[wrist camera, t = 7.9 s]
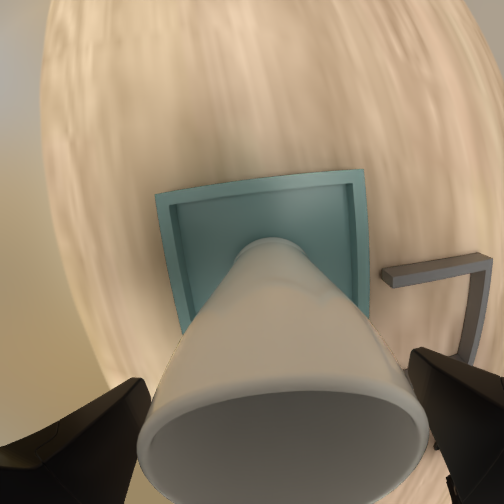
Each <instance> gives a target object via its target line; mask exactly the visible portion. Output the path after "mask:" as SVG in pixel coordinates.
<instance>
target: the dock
mask: <svg viewBox="0 0 504 504" xmlns="http://www.w3.org/2000/svg"><path fill="white" fill-rule="evenodd" d="M492 265H493V258H491V257H488V256H486V255H483V254H481V253H474V254H468V255H463V256H457V257H451V258H445V259H439V260H433V261H427V262H421V263H415V264H409V265H402V266H396V267H389V268H382V280H383V281H385V282H386V283H387V284H388V285H389V286H390V287H391V288H399V287H404V286H410V285H415V284H421V283H426V282H431V281H436V280H441V279H446V278H451V277H456V276H460V275H465V274H469V273H471V279H470V288H469V296H468V303H467V309H466V316H465V321H464V327H463V332H462V337H461V341H460V346H459V350H458V354H455V355H453V356H450V358H453V359H455V360H458V361H461V362H463V363H466V364H469V365H471V366H473V363H474V360H475V356H476V353H477V349H478V345H479V341H480V337H481V333H482V328H483V324H484V319H485V313H486V308H487V302H488V296H489V290H490V282H491V274H492ZM403 371H404V373H405V375H406V377H407V378H408V380H409V382H410V384H411V381H410V378H409V376H408V369H406V370H403ZM411 386H412V384H411ZM412 388H413V386H412Z"/></svg>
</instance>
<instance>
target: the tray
mask: <svg viewBox="0 0 504 504" xmlns="http://www.w3.org/2000/svg"><path fill="white" fill-rule="evenodd" d="M155 201H156V207H157V214H158V220H159V226H160V232H161V237H162V243H163V248H164V253H165V259H166V264H167V269H168V274H169V278H170V283H171V288H172V292H173V297H174V301H175V306H176V310H177V314H178V318H179V322H180V326H181V330H182V334H184V333H185V331H186V330H187V328H188V327H189V325H190V323H191V322H192V320H193V319H194V317H195V316H196V314H197V313H198V312H199V310H200V309H201V307H202V306H203V305H204V303H205V302H206V301H207V299H208V298H209V297H210V295H211V294H212V292H213V291H214V290H215V288H216V287H217V286H218V284H219V283H220V282H221V280H222V279H223V278H224V276H225V275H226V273H227V272H228V271H229V269H230V268H231V266H232V264H233V261H234V259H235V258H236V256H237V255H238V253H239V252H240V251H241V250H242V249H243V248H244V247H245V246H247V245H248V244H250V243H251V242H253V241H255V240H258V239H261V238H266V237H279V238H284V239H287V240H289V241H292V242H293V243H295V244H297V245H298V246H299V247H300V248H302V249H303V250H304V252H305V253H306V254H307V255H308V257H309V259H310V260H311V261H312V262H313V263H314V264H315V265H316V266H317V267H318V268H319V269H320V270H321V271H322V272H323V273H324V274H325V275H326V276H327V277H328V278H329V279H330V280H331V281H332V282H333V283H335V284H336V285H337V286H338V287H339V288H340V289H341V290H342V291H343V292H344V293H345V294H346V295H347V296H348V297H349V298H350V299H351V300H352V301H353V302H354V304H355V305H356V306H357V307H358V308H359V309H360V310H361V311H362V312H363V313H364V315H365V316H366V317H367V318H368V319H369V300H370V261H369V232H368V214H367V200H366V189H365V178H364V169H355V170H339V171H326V172H314V173H303V174H293V175H283V176H274V177H265V178H257V179H249V180H241V181H234V182H227V183H220V184H213V185H206V186H200V187H194V188H188V189H182V190H176V191H171V192H165V193H160V194H155Z"/></svg>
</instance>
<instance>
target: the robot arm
mask: <svg viewBox="0 0 504 504" xmlns="http://www.w3.org/2000/svg"><path fill="white" fill-rule="evenodd" d="M408 376H409V378H410V381H411V384H412V386H413V389H414V392H415V394H416V396H417V398H418V400H419V401H420V403H421V405H422V407H423V408H424V410H425V413H426V415H427V418H428V423H429V427H430V430H431V432H432V434H433V436H434V438H435V440H436V444H435V446H434V450H439V449H440V451H441V453H442V456H443V458H444V460H445V463H446V465H447V467H448V470H449V472H450V474H451V475H448V476H447V477H446V480H447V482H446V483H447V486H448V489H449V492H450V496H451V500H452V504H504V377H500V376H498V375H496V374H493V373H490V372H487V371H485V370H482V369H479V368H477V367H474V366H471V365H469V364H466V363H463V362H461V361H458V360H455V359H453V358H450V357H448V356H445V355H442V354H440V353H437V352H435V351H432V350H429V349H427V348H424V347H419V348H416V349H413V350H412V351H411V353H410V359H409V365H408ZM150 404H151V396H150V393H149V391H148V388H147V386H146V383H145V381H144V379H142V378H135V377H132V378H130V379H128V380H127V381H125V382H123V383H122V384H120V385H118V386H117V387H115V388H113V389H112V390H110V391H109V392H107V393H105V394H104V395H102V396H100V397H98V398H97V399H95V400H93V401H92V402H90V403H88V404H87V405H85V406H83V407H81V408H80V409H78V410H76V411H74V412H73V413H71V414H69V415H67V416H66V417H64V418H62V419H60V420H59V421H57V422H55V423H53V424H52V425H50V426H48V427H46V428H44V429H42V430H40V431H38V432H36V433H34V434H31V435H29V436H27V437H24V438H22V439H20V440H18V441H15V442H12V443H10V444H8V445H5V446H1V447H0V504H124V501H125V498H126V494H127V491H128V487H129V483H130V480H131V477H132V473H133V470H134V467H135V464H136V461H137V458H138V457H137V440H138V436H139V433H140V430H141V428H142V426H143V423H144V420H145V418H146V415H147V412H148V410H149V407H150Z"/></svg>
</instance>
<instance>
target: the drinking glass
mask: <svg viewBox="0 0 504 504" xmlns="http://www.w3.org/2000/svg"><path fill="white" fill-rule="evenodd" d="M428 439H429V423H428V418H427V415H426V413H425V410H424V408H423V407H422V405H421V403H420V401H419V400H418V398H417V396H416V394H415V392H414V390H413V388H412V386H411V384H410V382H409V380H408V378H407V377H406V375H405V373H404V371H403V369H402V368H401V366H400V364H399V363H398V361H397V359H396V358H395V356H394V354H393V353H392V351H391V350H390V348H389V347H388V345H387V344H386V342H385V341H384V340H383V338H382V337H381V335H380V334H379V333H378V331H377V330H376V328H375V327H374V326H373V324H372V323H371V322H370V321H369V319H368V318H367V317H366V316H365V315H364V313H363V312H362V311H361V310H360V309H359V308H358V307H357V306H356V305H355V304H354V302H353V301H352V300H351V299H350V298H349V297H348V296H347V295H346V294H345V293H344V292H343V291H342V290H341V289H340V288H339V287H338V286H337V285H336V284H335V283H333V282H332V281H331V280H330V279H329V278H328V277H327V276H326V275H325V274H324V273H323V272H322V271H321V270H320V269H319V268H318V267H317V266H316V265H315V264H314V263H313V262H312V261H311V260H310V259H309V257H308V255H307V254H306V253H305V252H304V250H303V249H302V248H300V247H299V246H298V245H297V244H295V243H293V242H292V241H289V240H287V239H284V238H279V237H266V238H261V239H258V240H255V241H253V242H251V243H250V244H248V245H247V246H245V247H244V248H243V249H242V250H241V251H240V252H239V253H238V255H237V256H236V258H235V259H234V261H233V264H232V266H231V268H230V269H229V271H228V272H227V273H226V275H225V276H224V278H223V279H222V280H221V282H220V283H219V284H218V286H217V287H216V288H215V290H214V291H213V292H212V294H211V295H210V297H209V298H208V299H207V301H206V302H205V303H204V305H203V306H202V307H201V309H200V310H199V312H198V313H197V314H196V316H195V317H194V319H193V320H192V322H191V323H190V325H189V327H188V328H187V330H186V331H185V333H184V334H183V336H182V338H181V340H180V341H179V343H178V345H177V347H176V349H175V351H174V353H173V354H172V356H171V359H170V361H169V363H168V365H167V367H166V369H165V371H164V373H163V376H162V378H161V380H160V382H159V385H158V387H157V389H156V392H155V394H154V397H153V399H152V402H151V404H150V407H149V410H148V412H147V415H146V418H145V420H144V423H143V426H142V428H141V430H140V433H139V436H138V440H137V457H138V461H139V464H140V467H141V469H142V471H143V473H144V475H145V476H146V478H147V479H148V480H149V482H150V483H151V484H152V485H153V486H154V488H155V489H156V490H158V491H159V492H160V493H161V494H162V495H163V496H164V497H166V498H167V499H168V500H170V501H171V502H173V503H175V504H374V503H375V502H377V501H379V500H380V499H382V498H383V497H385V496H386V495H388V494H389V493H391V492H392V491H393V490H394V489H396V488H397V487H398V486H399V485H400V484H401V483H402V482H404V481H405V480H406V479H407V477H408V476H409V475H410V474H411V473H412V472H413V470H414V469H415V468H416V467H417V465H418V463H419V462H420V460H421V459H422V457H423V454H424V452H425V450H426V447H427V444H428Z"/></svg>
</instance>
